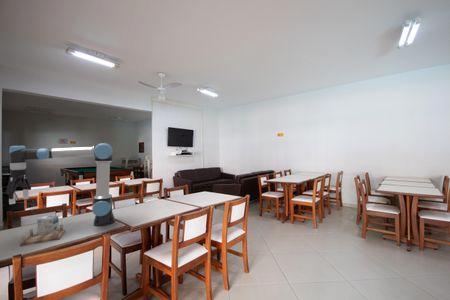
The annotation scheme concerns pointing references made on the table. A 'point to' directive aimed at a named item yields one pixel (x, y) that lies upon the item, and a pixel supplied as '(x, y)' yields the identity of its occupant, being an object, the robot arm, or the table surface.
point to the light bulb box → (47, 224)
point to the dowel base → (42, 237)
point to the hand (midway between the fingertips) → (19, 201)
